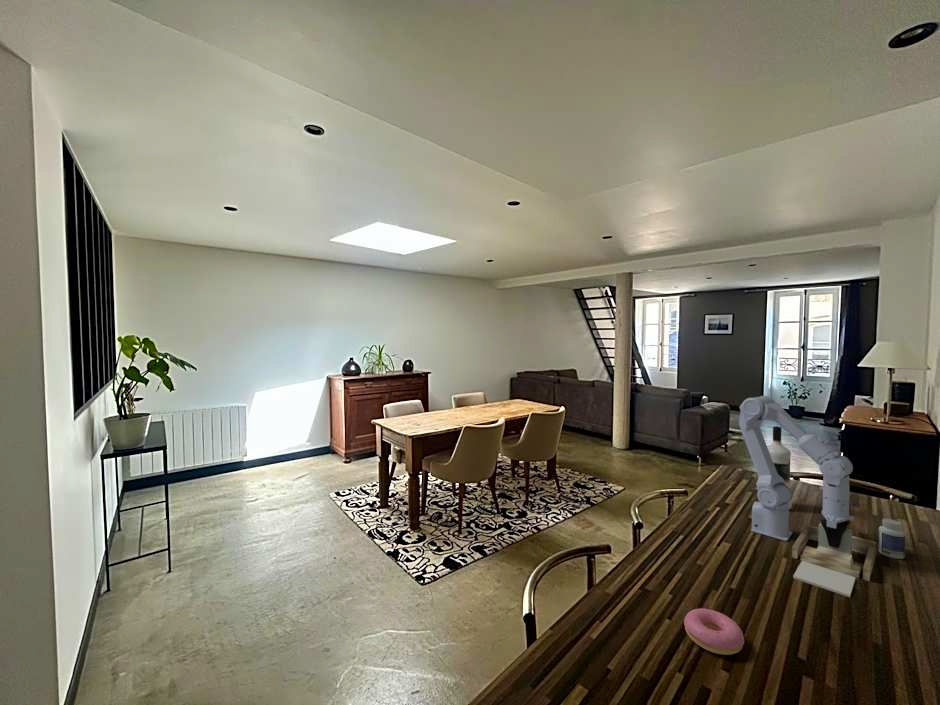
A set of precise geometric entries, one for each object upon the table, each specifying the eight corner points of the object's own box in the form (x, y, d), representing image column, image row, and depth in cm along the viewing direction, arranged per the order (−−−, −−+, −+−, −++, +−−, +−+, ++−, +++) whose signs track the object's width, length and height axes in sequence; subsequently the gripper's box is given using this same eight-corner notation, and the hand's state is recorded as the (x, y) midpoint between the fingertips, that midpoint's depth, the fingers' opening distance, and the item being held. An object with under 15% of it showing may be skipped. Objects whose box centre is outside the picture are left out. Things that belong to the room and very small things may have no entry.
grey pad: (793, 578, 108) (793, 575, 108) (801, 562, 115) (801, 560, 115) (850, 597, 99) (850, 595, 99) (855, 579, 107) (855, 577, 107)
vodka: (763, 499, 161) (764, 423, 160) (793, 505, 154) (795, 426, 153) (758, 505, 154) (759, 426, 153) (789, 513, 148) (790, 430, 147)
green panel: (818, 551, 121) (818, 525, 121) (819, 548, 123) (820, 522, 123) (850, 561, 116) (850, 533, 115) (851, 557, 118) (852, 530, 117)
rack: (791, 557, 118) (792, 543, 118) (804, 536, 130) (805, 523, 130) (869, 581, 106) (869, 566, 106) (875, 555, 118) (875, 542, 118)
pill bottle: (910, 560, 116) (911, 526, 116) (887, 558, 117) (888, 524, 117) (894, 550, 121) (895, 518, 121) (873, 549, 122) (874, 516, 122)
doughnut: (676, 639, 86) (676, 620, 86) (693, 614, 94) (693, 597, 94) (736, 669, 78) (736, 647, 78) (750, 639, 86) (750, 620, 86)
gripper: (851, 509, 111) (850, 559, 111) (857, 495, 121) (856, 541, 121) (817, 502, 116) (816, 549, 117) (826, 489, 126) (825, 533, 126)
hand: (834, 544), depth 119 cm, fingers closed on green panel, 3 cm apart
